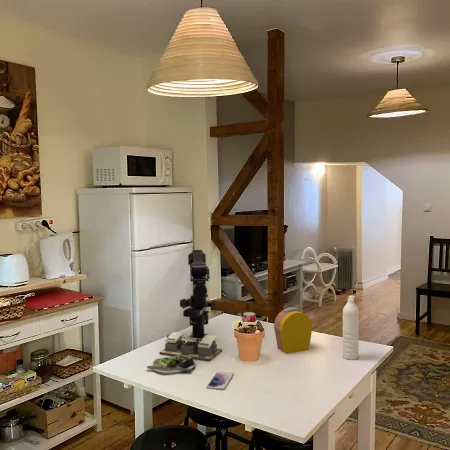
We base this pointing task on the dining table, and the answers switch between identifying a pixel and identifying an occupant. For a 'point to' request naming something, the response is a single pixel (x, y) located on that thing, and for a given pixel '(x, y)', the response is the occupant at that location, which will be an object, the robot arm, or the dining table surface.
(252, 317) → the soda can
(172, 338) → the switch
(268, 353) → the dining table surface
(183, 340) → the switch middle
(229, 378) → the smartphone
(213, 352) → the switch console
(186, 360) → the salad plate
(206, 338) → the switch
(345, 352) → the water bottle
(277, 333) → the alarm clock
